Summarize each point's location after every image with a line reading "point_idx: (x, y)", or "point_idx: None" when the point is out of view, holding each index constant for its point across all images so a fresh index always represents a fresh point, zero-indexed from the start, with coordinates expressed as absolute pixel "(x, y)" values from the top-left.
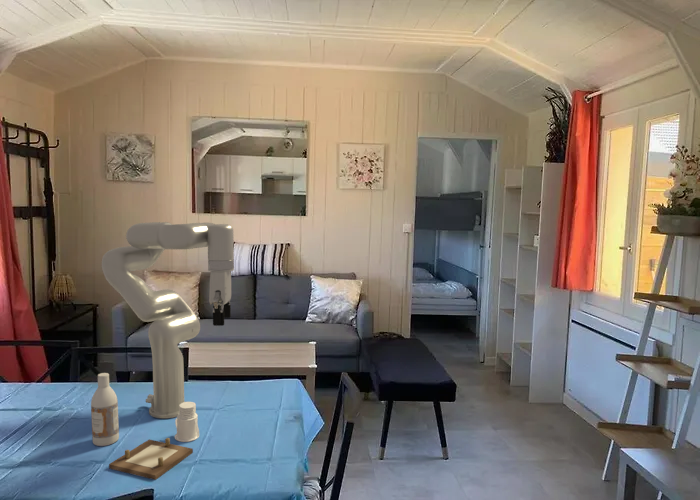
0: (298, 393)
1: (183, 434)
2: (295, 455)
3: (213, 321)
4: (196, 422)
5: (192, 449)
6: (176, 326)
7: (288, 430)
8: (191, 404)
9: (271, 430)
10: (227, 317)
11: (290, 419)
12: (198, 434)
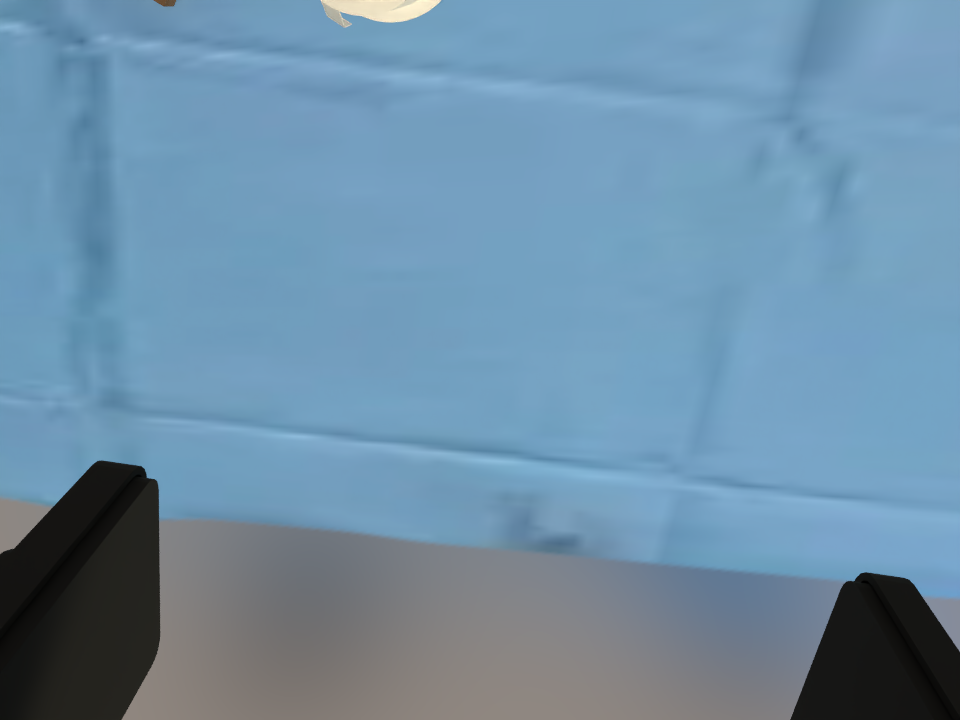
0: None
1: None
2: None
3: (53, 515)
4: (335, 10)
5: (164, 4)
6: None
7: (405, 499)
8: None
9: (415, 423)
10: (800, 701)
11: (535, 518)
12: (343, 22)
